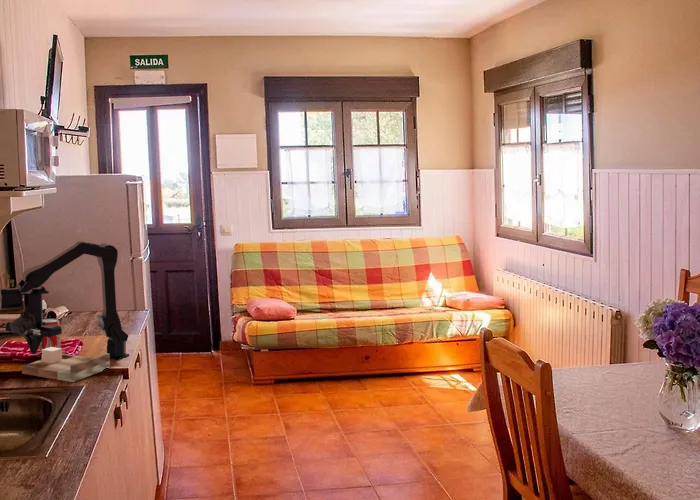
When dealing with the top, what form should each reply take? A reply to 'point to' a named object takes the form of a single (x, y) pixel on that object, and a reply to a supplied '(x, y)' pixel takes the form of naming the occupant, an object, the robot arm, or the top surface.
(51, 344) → the soda can
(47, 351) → the block
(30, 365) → the board
